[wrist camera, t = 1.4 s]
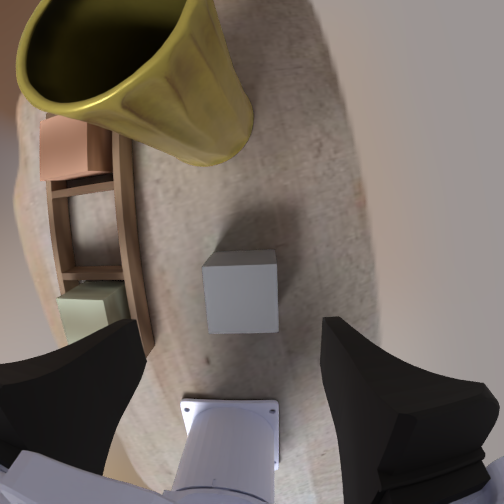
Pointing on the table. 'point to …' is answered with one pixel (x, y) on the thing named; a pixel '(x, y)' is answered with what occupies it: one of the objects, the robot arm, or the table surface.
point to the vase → (138, 73)
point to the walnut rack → (55, 174)
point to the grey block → (241, 292)
